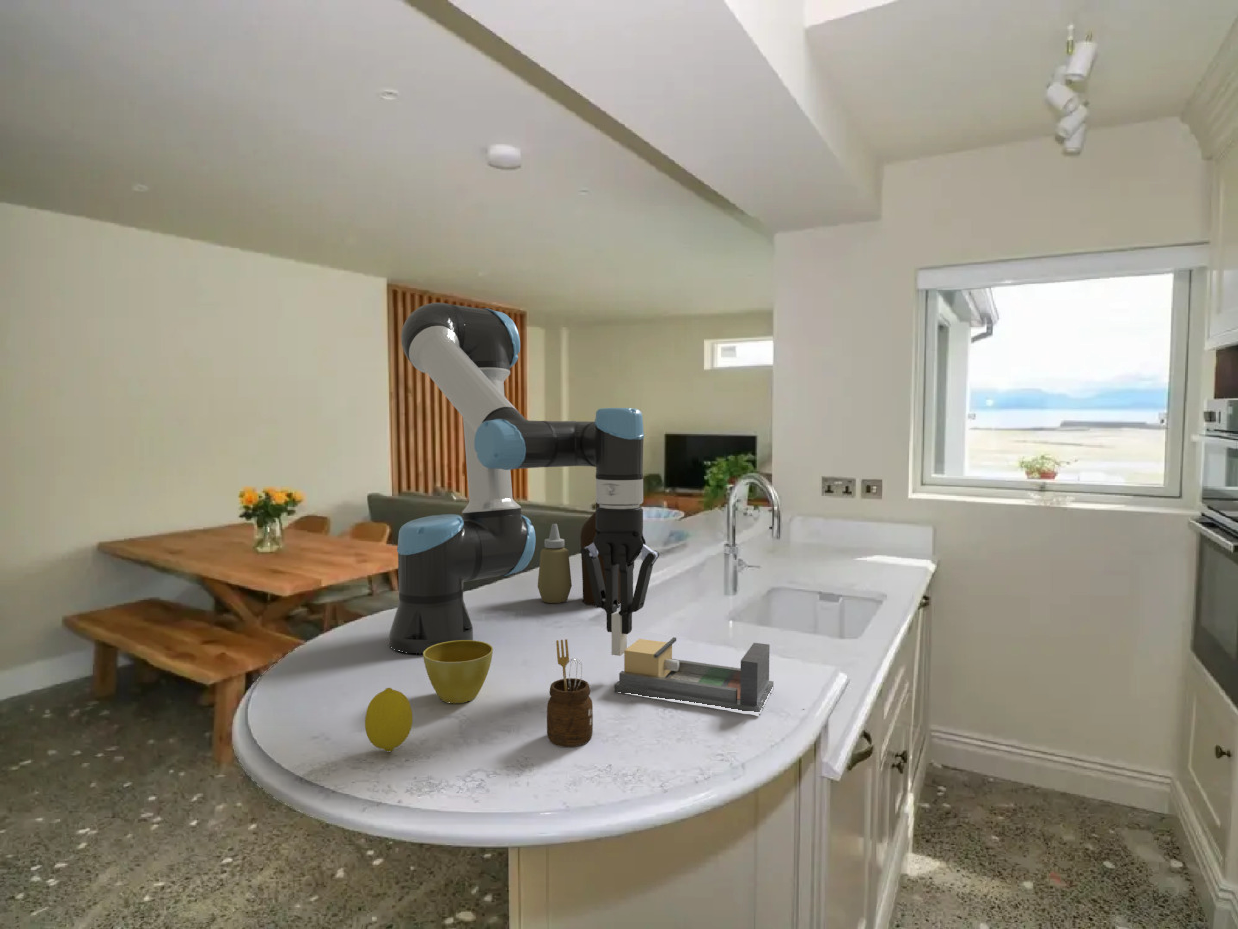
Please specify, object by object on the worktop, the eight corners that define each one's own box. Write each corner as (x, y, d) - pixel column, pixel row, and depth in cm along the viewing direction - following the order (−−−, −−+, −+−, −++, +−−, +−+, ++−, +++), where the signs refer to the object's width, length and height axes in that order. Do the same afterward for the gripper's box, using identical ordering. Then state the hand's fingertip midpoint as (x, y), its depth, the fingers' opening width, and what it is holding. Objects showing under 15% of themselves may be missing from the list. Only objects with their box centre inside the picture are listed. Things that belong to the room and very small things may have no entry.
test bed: (614, 692, 104) (614, 645, 103) (640, 669, 114) (640, 626, 113) (759, 716, 95) (759, 665, 95) (773, 689, 105) (774, 643, 105)
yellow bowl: (477, 714, 96) (477, 664, 95) (411, 708, 97) (410, 659, 97) (502, 687, 106) (502, 642, 105) (441, 683, 107) (441, 638, 107)
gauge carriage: (620, 681, 104) (620, 649, 104) (642, 662, 113) (642, 633, 112) (667, 689, 101) (668, 656, 101) (686, 669, 110) (686, 639, 109)
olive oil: (588, 608, 153) (588, 497, 151) (574, 597, 162) (574, 493, 161) (632, 604, 156) (632, 495, 155) (616, 594, 166) (617, 491, 165)
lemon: (372, 742, 87) (371, 680, 86) (416, 741, 87) (416, 679, 87) (359, 763, 81) (358, 697, 81) (407, 762, 82) (406, 696, 81)
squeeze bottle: (574, 597, 163) (574, 522, 162) (568, 605, 155) (568, 526, 154) (541, 596, 164) (541, 521, 163) (533, 604, 156) (533, 526, 155)
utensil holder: (555, 752, 84) (555, 657, 84) (540, 731, 90) (540, 642, 89) (599, 744, 87) (599, 650, 86) (582, 724, 92) (582, 636, 92)
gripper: (571, 506, 107) (572, 654, 108) (649, 510, 102) (649, 665, 103) (592, 501, 114) (592, 641, 115) (666, 505, 109) (665, 651, 110)
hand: (619, 652), depth 109 cm, fingers closed
